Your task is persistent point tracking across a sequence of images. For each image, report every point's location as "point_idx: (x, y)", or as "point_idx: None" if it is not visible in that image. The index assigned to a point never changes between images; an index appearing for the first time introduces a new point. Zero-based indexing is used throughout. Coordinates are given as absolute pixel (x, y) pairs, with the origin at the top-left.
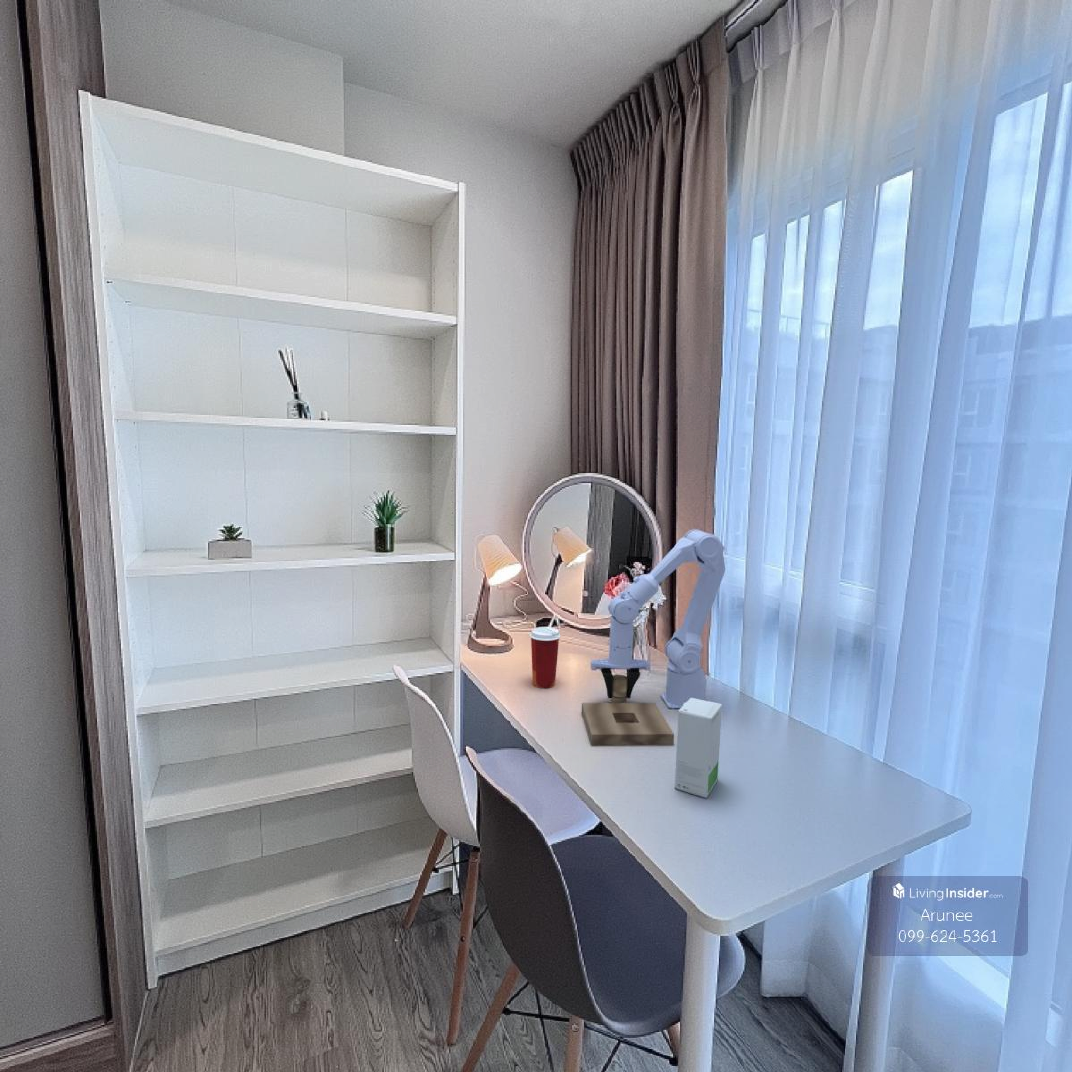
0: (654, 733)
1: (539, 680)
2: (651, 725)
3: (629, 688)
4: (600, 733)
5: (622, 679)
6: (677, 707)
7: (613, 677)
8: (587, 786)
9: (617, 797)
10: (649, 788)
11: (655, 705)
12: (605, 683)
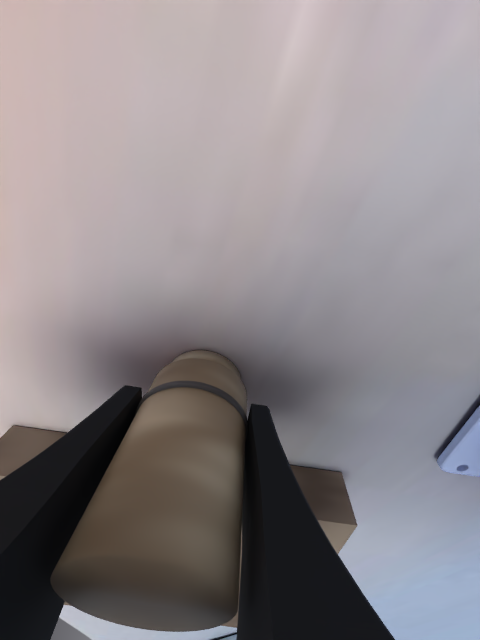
0: (228, 624)
1: None
2: (238, 606)
3: (243, 529)
4: (68, 603)
5: (167, 621)
6: (477, 473)
7: (74, 587)
8: (62, 617)
9: (111, 633)
10: (167, 633)
11: (340, 539)
12: (50, 451)
